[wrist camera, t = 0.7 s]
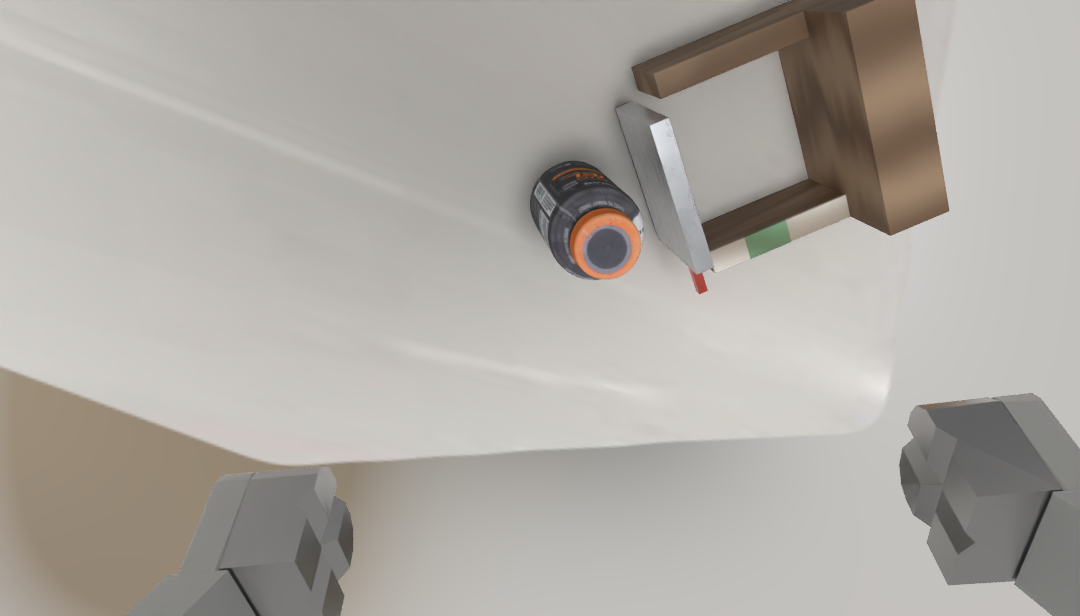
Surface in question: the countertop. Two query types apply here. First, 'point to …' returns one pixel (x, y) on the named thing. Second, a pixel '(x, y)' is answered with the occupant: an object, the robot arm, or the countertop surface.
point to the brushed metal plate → (666, 187)
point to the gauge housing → (827, 118)
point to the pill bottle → (587, 221)
